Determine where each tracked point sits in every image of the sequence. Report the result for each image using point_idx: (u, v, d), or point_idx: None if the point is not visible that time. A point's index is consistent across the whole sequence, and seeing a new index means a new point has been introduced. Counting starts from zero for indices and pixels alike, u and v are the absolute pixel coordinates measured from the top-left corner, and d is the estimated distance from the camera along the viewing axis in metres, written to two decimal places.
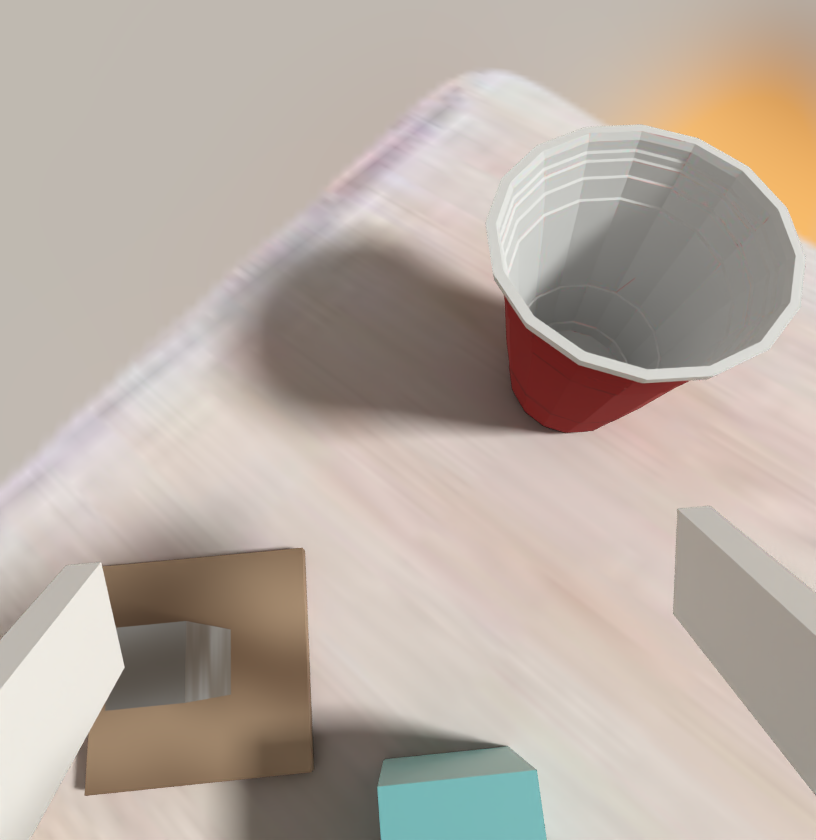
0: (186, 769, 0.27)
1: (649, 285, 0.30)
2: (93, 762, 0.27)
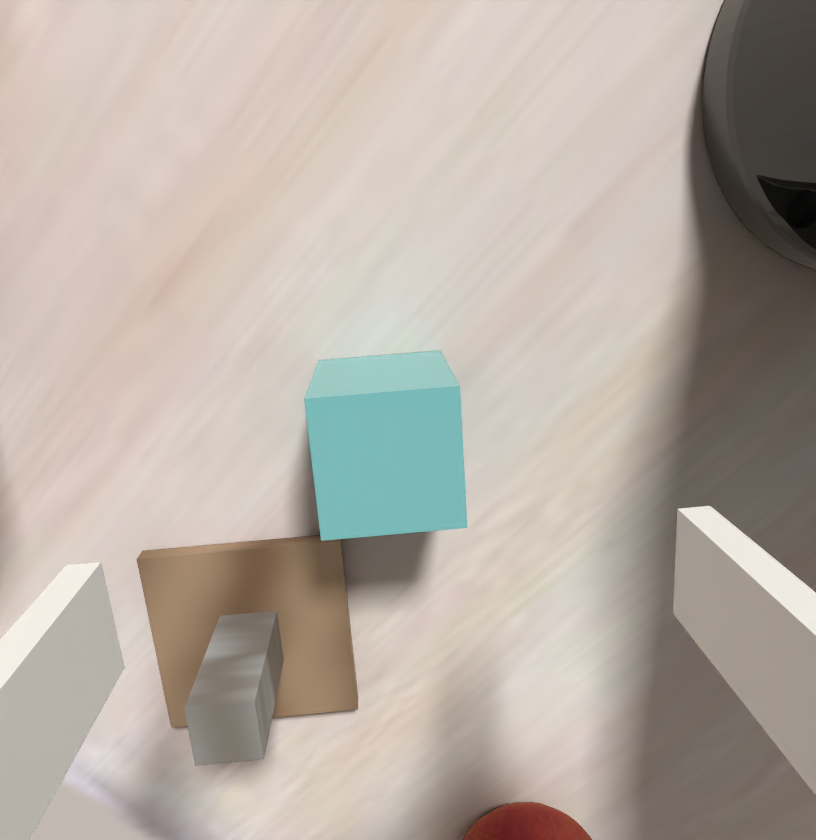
0: (337, 638, 0.32)
1: None
2: (333, 706, 0.33)
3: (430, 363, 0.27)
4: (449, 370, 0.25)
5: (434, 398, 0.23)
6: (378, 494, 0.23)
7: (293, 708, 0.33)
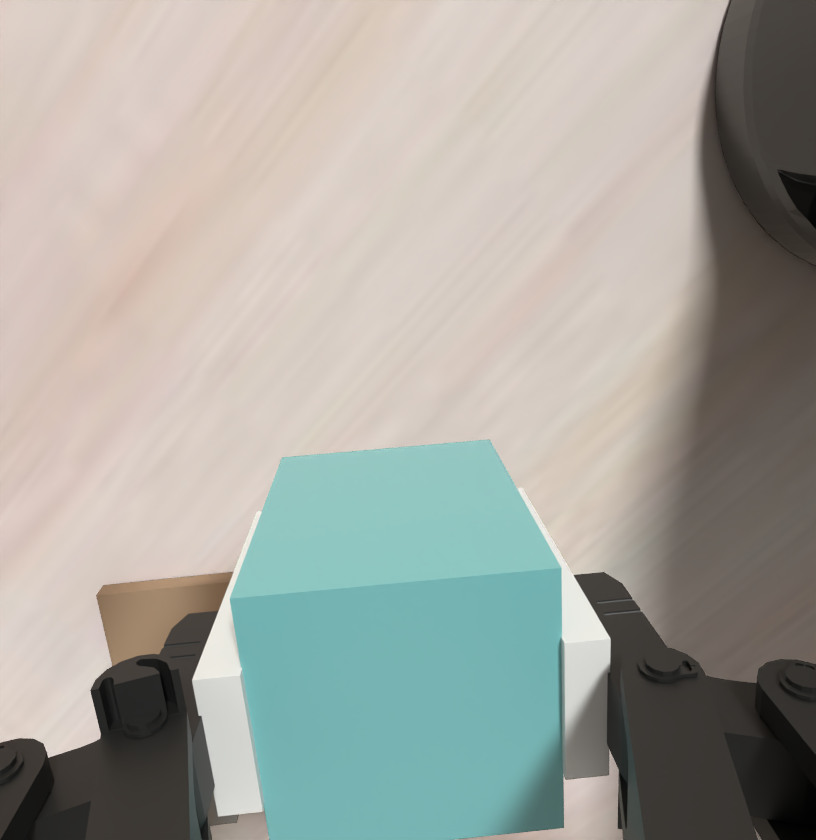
0: None
1: None
2: None
3: (480, 478, 0.15)
4: (522, 504, 0.13)
5: (507, 592, 0.11)
6: (388, 774, 0.12)
7: None
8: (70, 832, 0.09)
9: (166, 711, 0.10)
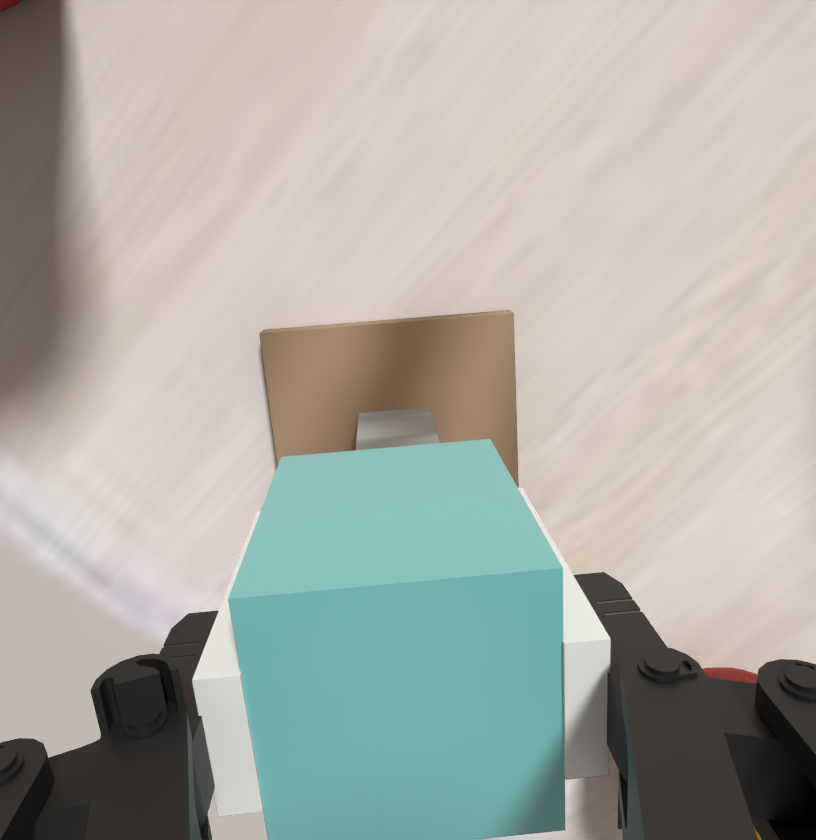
0: (502, 447, 0.25)
1: None
2: None
3: (480, 477, 0.14)
4: (523, 504, 0.13)
5: (508, 593, 0.11)
6: (387, 776, 0.11)
7: None
8: (69, 833, 0.09)
9: (166, 711, 0.10)
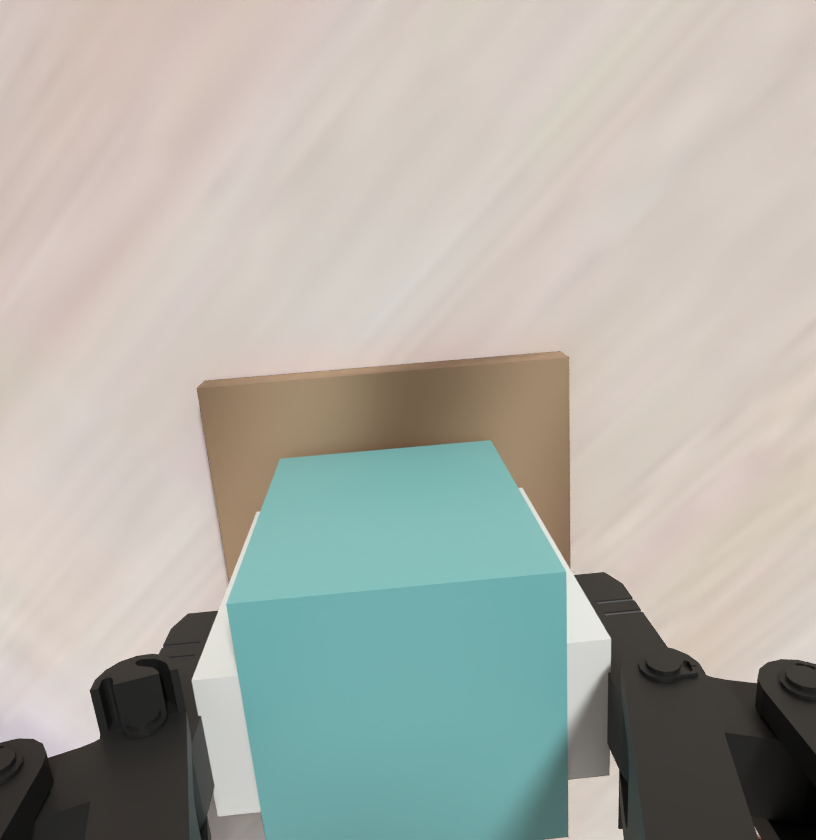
0: None
1: None
2: None
3: (481, 479, 0.14)
4: (525, 506, 0.13)
5: (510, 597, 0.10)
6: (388, 783, 0.11)
7: None
8: (69, 832, 0.09)
9: (165, 711, 0.10)
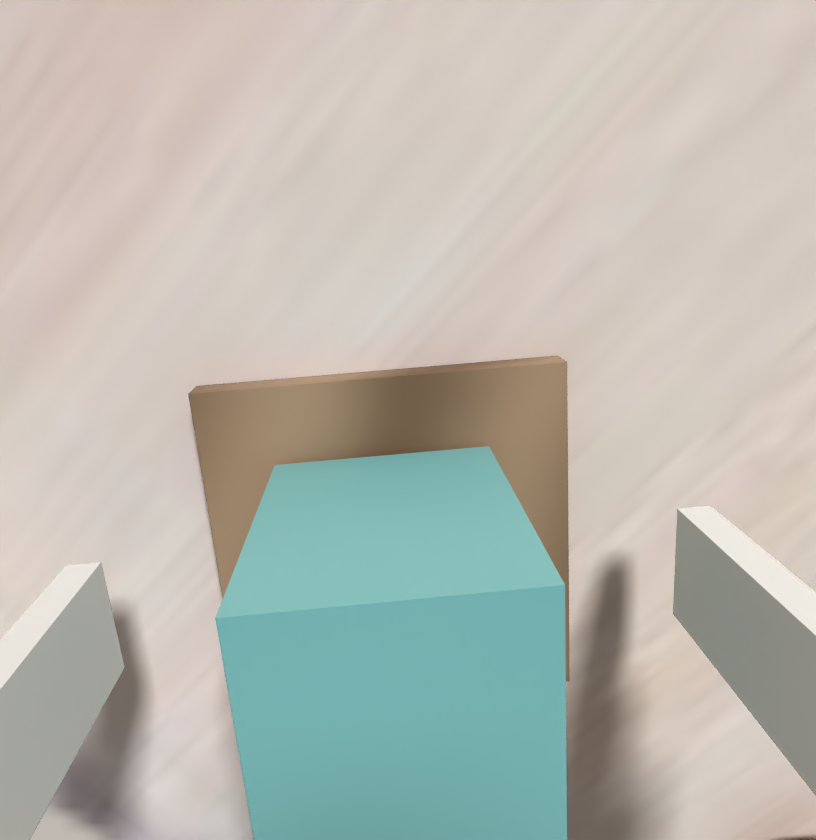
0: None
1: None
2: None
3: (479, 487, 0.14)
4: (523, 515, 0.13)
5: (507, 610, 0.10)
6: (382, 800, 0.11)
7: None
8: None
9: None
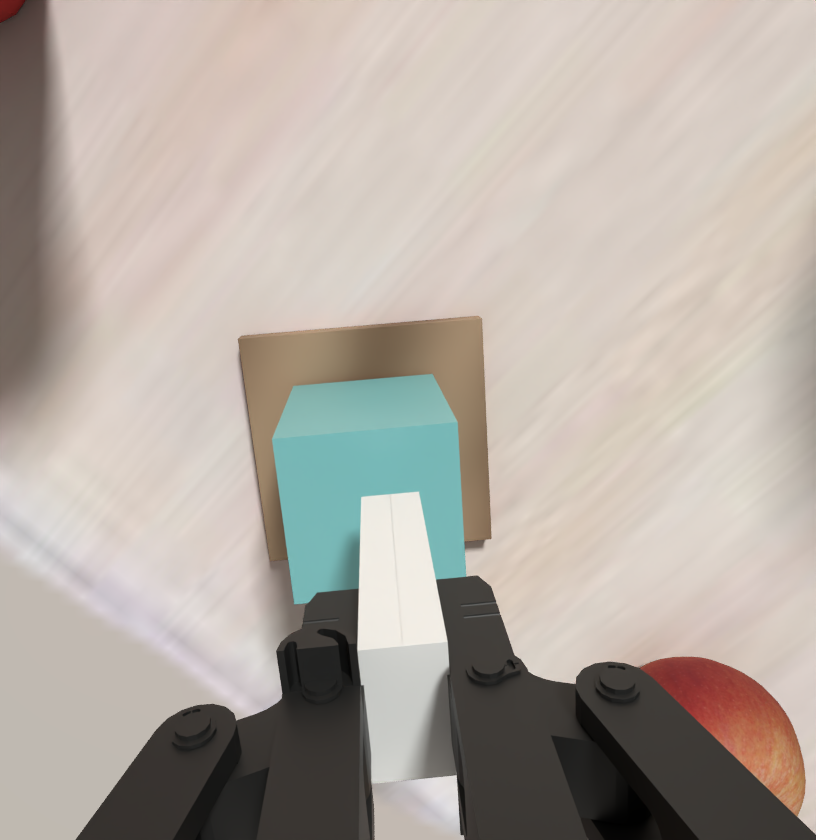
0: (473, 447, 0.26)
1: None
2: None
3: (421, 390, 0.23)
4: (444, 400, 0.21)
5: (427, 436, 0.19)
6: None
7: None
8: (263, 792, 0.10)
9: (341, 682, 0.10)
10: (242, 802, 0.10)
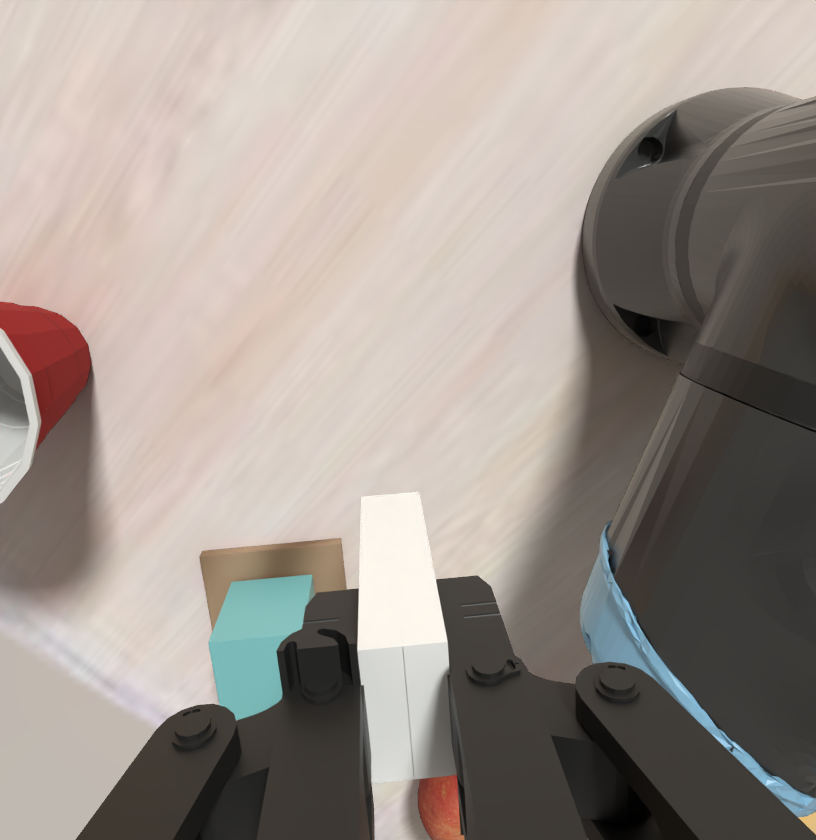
0: None
1: None
2: None
3: (298, 595, 0.41)
4: None
5: None
6: (256, 694, 0.38)
7: None
8: (262, 792, 0.10)
9: (341, 682, 0.10)
10: (242, 801, 0.10)
